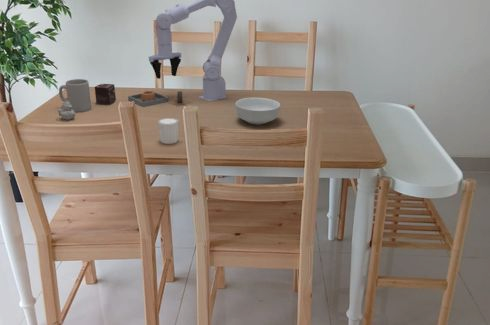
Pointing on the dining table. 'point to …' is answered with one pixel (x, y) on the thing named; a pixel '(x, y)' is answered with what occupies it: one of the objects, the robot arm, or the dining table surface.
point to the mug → (77, 94)
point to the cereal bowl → (257, 110)
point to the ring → (147, 96)
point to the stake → (180, 100)
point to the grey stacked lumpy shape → (66, 111)
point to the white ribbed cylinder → (168, 130)
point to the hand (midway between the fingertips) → (166, 76)
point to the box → (105, 94)
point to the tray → (158, 100)
